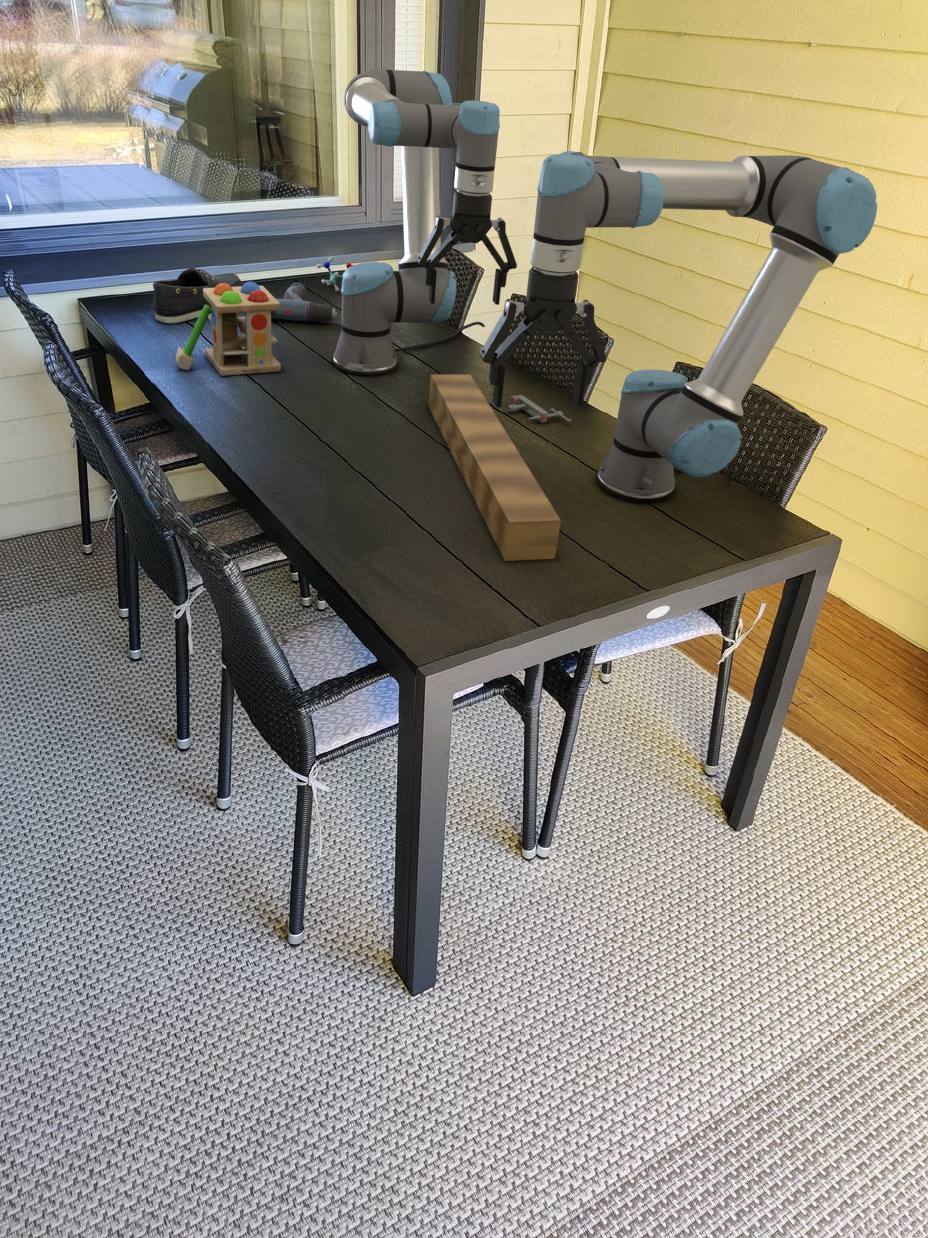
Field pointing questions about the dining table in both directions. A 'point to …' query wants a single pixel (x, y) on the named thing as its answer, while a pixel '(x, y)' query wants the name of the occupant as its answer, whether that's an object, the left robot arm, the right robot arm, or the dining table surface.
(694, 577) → the dining table surface
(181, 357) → the pounding bench toy
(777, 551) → the dining table surface
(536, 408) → the clamp
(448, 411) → the wide beam
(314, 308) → the power drill
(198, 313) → the boat shoe
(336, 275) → the molecular model
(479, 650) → the dining table surface
